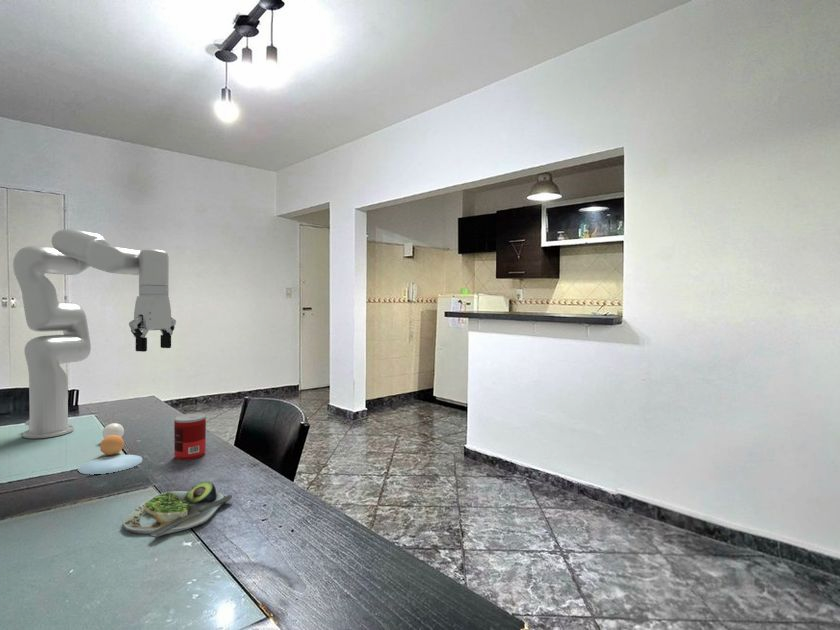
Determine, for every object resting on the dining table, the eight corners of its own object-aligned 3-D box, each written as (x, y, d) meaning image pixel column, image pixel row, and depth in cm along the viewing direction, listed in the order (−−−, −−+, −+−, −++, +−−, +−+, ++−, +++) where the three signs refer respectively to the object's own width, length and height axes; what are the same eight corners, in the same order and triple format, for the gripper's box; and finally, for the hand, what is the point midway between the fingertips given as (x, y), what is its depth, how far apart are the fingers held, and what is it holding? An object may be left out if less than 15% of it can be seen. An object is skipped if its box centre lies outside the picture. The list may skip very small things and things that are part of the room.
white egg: (97, 442, 134) (97, 425, 134) (114, 437, 140) (114, 420, 140) (111, 444, 133) (111, 426, 133) (128, 439, 138) (128, 422, 138)
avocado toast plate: (198, 545, 80) (198, 520, 80) (97, 545, 80) (97, 520, 80) (238, 498, 100) (238, 477, 100) (157, 498, 99) (157, 477, 99)
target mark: (64, 470, 112) (64, 470, 112) (115, 453, 126) (115, 452, 126) (106, 477, 109) (106, 477, 109) (154, 458, 122) (154, 458, 122)
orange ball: (95, 456, 123) (95, 437, 123) (113, 450, 128) (113, 431, 128) (110, 458, 121) (110, 439, 121) (128, 452, 127) (128, 433, 126)
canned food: (211, 451, 129) (211, 413, 128) (194, 461, 121) (194, 421, 120) (186, 450, 129) (186, 412, 129) (168, 459, 122) (168, 419, 121)
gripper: (163, 292, 140) (163, 346, 141) (118, 290, 123) (118, 352, 123) (185, 292, 139) (185, 347, 139) (142, 291, 122) (142, 353, 122)
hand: (154, 349), depth 131 cm, fingers open, 9 cm apart
